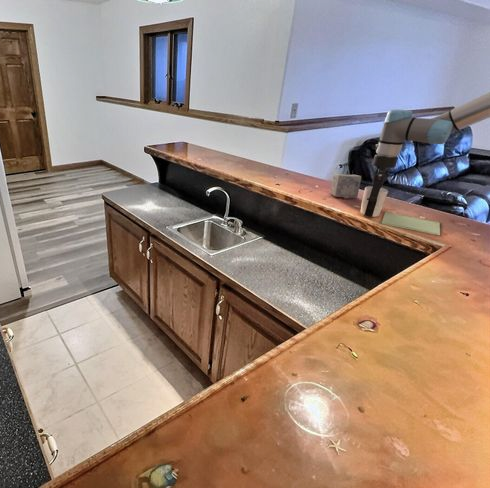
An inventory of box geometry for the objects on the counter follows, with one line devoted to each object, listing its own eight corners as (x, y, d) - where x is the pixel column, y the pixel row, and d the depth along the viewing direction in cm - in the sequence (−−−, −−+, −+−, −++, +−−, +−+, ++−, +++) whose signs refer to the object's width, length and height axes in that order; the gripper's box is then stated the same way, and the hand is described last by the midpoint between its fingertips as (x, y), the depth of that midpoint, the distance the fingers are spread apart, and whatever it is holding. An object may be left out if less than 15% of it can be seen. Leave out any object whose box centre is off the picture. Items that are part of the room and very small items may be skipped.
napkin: (439, 223, 132) (439, 222, 132) (439, 235, 121) (440, 235, 121) (385, 212, 141) (385, 211, 141) (381, 223, 130) (381, 222, 130)
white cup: (361, 216, 135) (368, 191, 131) (356, 209, 142) (362, 185, 138) (383, 218, 134) (391, 193, 129) (377, 211, 140) (384, 187, 136)
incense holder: (350, 194, 161) (356, 172, 156) (356, 200, 154) (363, 177, 149) (328, 193, 162) (333, 171, 158) (333, 199, 155) (339, 176, 150)
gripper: (378, 149, 137) (362, 204, 147) (371, 158, 122) (354, 218, 132) (400, 151, 133) (383, 207, 143) (396, 161, 118) (377, 223, 128)
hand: (369, 213), depth 138 cm, fingers closed on white cup, 8 cm apart
